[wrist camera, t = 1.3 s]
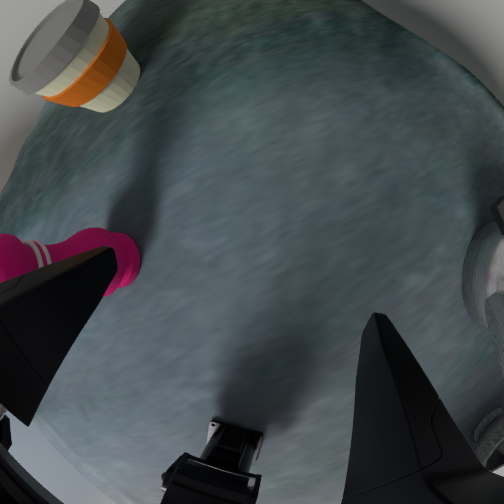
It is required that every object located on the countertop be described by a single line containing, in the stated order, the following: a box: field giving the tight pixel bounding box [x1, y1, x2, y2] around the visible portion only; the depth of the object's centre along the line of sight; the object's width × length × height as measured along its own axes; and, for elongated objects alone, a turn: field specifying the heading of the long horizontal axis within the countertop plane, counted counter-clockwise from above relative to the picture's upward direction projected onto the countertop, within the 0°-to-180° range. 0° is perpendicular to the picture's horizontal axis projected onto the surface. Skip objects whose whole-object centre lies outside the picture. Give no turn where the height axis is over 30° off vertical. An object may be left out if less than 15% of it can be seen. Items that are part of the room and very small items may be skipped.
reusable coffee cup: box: [9, 0, 140, 112], centre depth 21 cm, size 13×13×15 cm
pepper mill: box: [0, 228, 140, 297], centre depth 19 cm, size 7×7×20 cm
